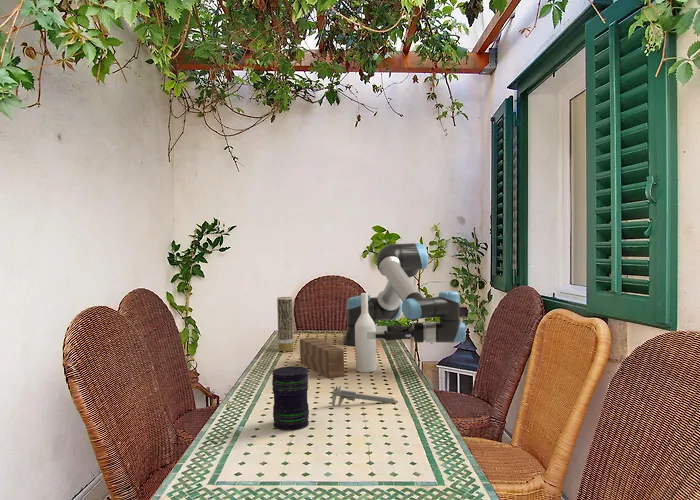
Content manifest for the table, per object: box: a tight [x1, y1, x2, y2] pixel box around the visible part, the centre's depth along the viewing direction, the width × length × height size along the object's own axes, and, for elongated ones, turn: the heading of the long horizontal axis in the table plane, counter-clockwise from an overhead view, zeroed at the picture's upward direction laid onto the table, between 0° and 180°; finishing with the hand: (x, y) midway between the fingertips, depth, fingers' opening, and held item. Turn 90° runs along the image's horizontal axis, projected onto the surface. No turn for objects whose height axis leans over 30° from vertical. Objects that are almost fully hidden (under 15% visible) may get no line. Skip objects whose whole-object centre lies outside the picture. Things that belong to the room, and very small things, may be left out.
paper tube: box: [276, 296, 294, 352], centre depth 244 cm, size 7×7×25 cm
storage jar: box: [271, 365, 310, 432], centre depth 144 cm, size 10×10×15 cm
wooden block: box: [299, 337, 345, 380], centre depth 207 cm, size 30×6×10 cm, turn 26°
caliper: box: [331, 385, 399, 407], centre depth 161 cm, size 20×1×6 cm, turn 96°
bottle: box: [354, 292, 377, 373], centre depth 204 cm, size 8×8×30 cm
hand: (368, 332), depth 203 cm, fingers open, 13 cm apart
